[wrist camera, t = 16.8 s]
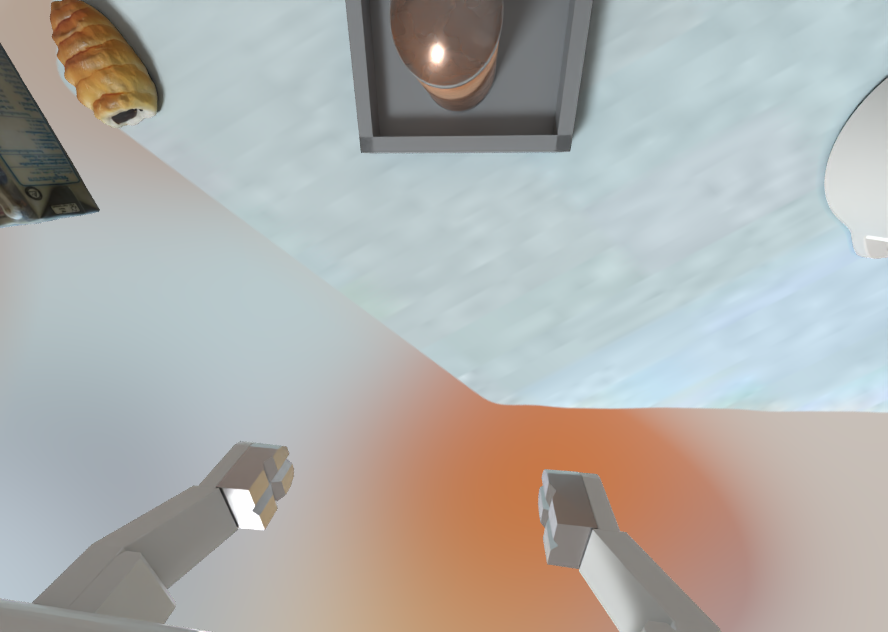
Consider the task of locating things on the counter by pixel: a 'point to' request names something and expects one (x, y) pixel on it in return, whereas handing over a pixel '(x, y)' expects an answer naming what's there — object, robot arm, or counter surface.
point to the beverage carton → (33, 160)
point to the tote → (507, 104)
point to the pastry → (101, 65)
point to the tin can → (449, 47)
